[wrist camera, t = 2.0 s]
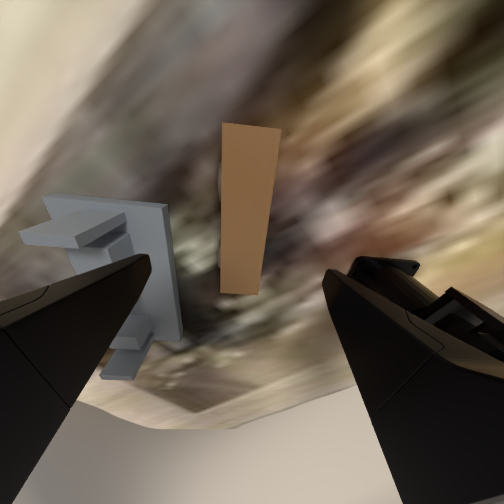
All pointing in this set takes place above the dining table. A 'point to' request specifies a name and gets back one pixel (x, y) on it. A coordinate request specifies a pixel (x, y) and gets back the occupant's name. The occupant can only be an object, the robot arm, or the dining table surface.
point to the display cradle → (114, 249)
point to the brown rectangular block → (245, 203)
